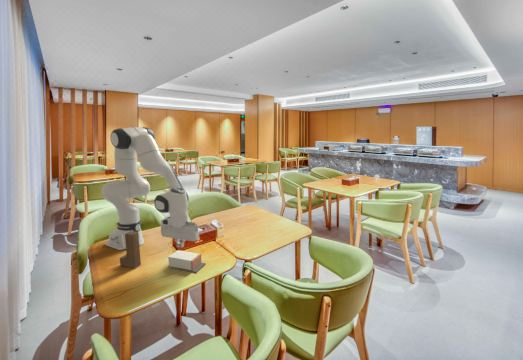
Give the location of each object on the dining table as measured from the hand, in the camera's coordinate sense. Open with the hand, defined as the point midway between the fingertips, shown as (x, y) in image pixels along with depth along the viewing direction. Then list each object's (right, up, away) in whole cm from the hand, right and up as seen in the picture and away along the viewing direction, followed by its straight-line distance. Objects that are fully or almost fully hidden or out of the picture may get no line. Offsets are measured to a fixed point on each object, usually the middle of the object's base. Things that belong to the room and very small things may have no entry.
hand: (180, 246), depth 140 cm
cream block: (-5, -7, +3) cm, 8 cm away
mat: (+4, -10, +1) cm, 11 cm away
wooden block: (-26, -10, +1) cm, 28 cm away
